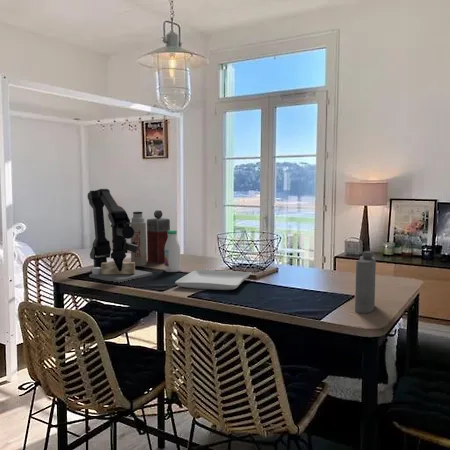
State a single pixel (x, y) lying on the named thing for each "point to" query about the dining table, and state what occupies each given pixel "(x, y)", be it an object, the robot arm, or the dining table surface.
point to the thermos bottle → (139, 239)
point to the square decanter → (157, 237)
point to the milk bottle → (172, 252)
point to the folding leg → (112, 268)
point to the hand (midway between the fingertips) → (120, 271)
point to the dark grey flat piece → (117, 275)
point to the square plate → (213, 279)
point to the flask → (365, 283)
